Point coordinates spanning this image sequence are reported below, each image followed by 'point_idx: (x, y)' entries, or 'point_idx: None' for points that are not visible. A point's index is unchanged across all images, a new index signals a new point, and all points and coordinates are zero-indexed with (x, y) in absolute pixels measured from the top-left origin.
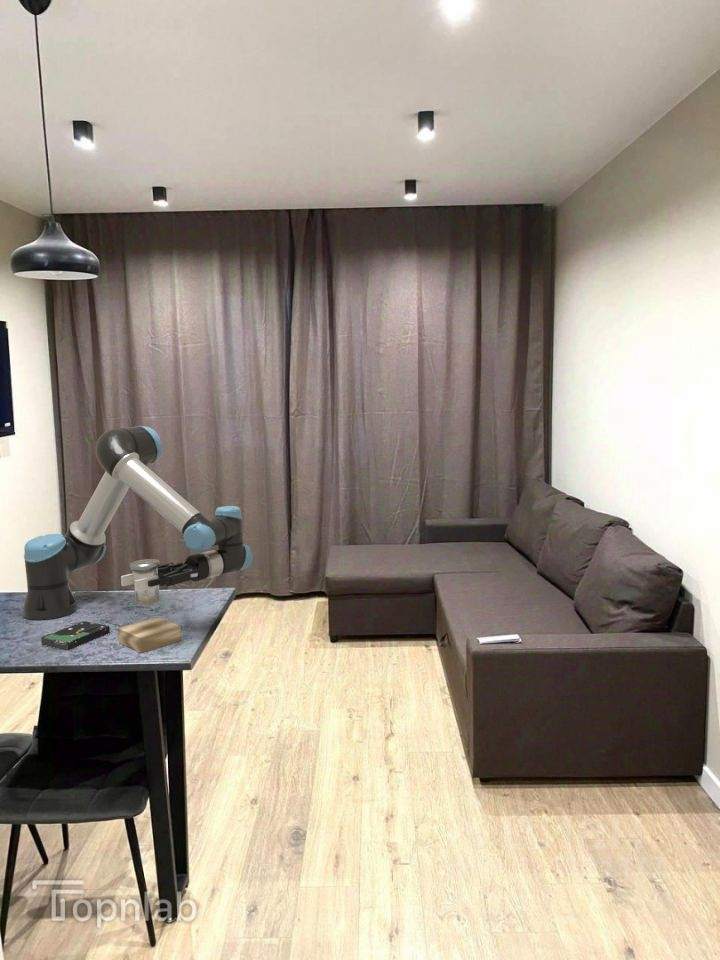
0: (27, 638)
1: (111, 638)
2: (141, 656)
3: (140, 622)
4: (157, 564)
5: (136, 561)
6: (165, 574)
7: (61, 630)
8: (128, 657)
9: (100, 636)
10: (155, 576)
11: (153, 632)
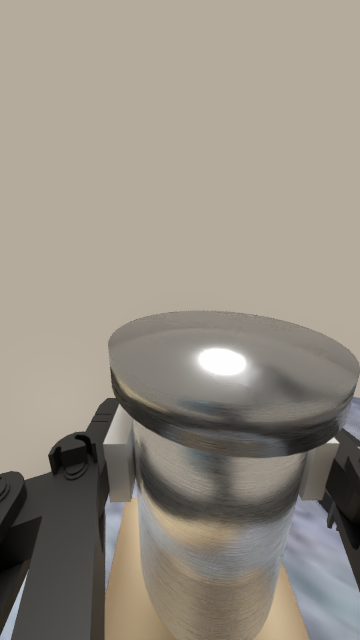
0: (351, 410)
1: (300, 528)
2: (110, 513)
3: (290, 619)
4: (113, 371)
5: (295, 329)
6: (77, 544)
7: (345, 433)
8: (135, 485)
9: (325, 508)
10: (112, 424)
11: (127, 573)
